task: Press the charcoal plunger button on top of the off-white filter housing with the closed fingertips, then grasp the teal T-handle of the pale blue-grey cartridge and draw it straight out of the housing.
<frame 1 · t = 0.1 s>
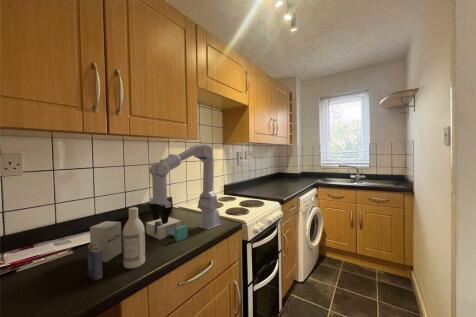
hand: (160, 221, 88), 10 cm above the worktop, tool pointing down, fingers open, 7 cm apart
supplement box: (106, 257, 78), on the worktop
bath foam: (134, 264, 72), on the worktop
housing: (164, 232, 102), on the worktop
cartridge: (170, 228, 98), point 3 cm above the worktop, slide at 0.0 cm
plunger: (158, 226, 97), point 5 cm above the worktop, slide at 0.0 cm
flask: (94, 275, 66), on the worktop
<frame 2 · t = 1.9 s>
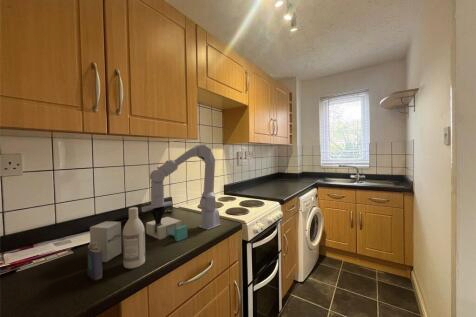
hand: (158, 223, 97), 6 cm above the worktop, tool pointing down, fingers closed, pressing on plunger
plunger: (158, 227, 97), point 4 cm above the worktop, slide at 0.6 cm, touching gripper
everything else where it was.
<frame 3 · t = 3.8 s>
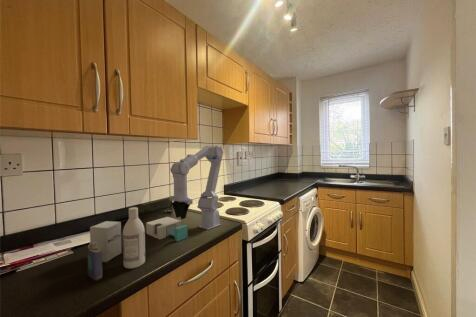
hand: (180, 217, 93), 10 cm above the worktop, tool pointing down, fingers open, 3 cm apart
plunger: (158, 228, 97), point 4 cm above the worktop, slide at 1.1 cm
everything else where it was.
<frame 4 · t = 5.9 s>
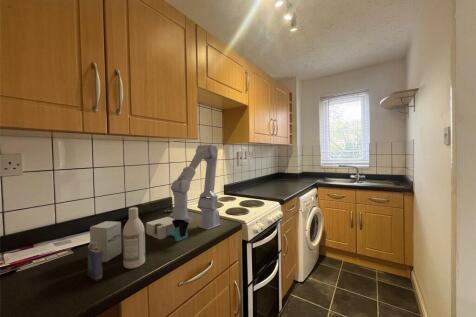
hand: (181, 235, 93), 2 cm above the worktop, tool pointing down, fingers closed on cartridge, 2 cm apart
cartridge: (170, 228, 98), point 3 cm above the worktop, slide at 0.0 cm, touching gripper
everything else where it was.
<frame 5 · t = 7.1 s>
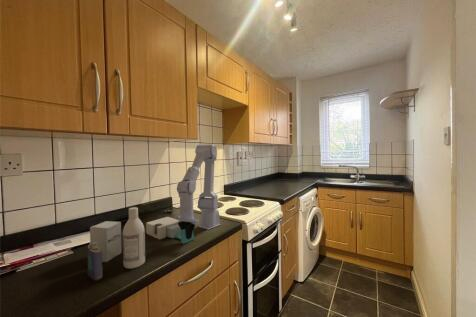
hand: (187, 237, 90), 2 cm above the worktop, tool pointing down, fingers closed on cartridge, 2 cm apart
cartridge: (175, 230, 96), point 3 cm above the worktop, slide at 4.4 cm, touching gripper
everything else where it was.
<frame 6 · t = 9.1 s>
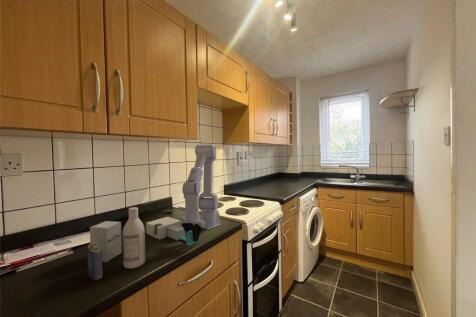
hand: (192, 239, 88), 2 cm above the worktop, tool pointing down, fingers open, 4 cm apart
cartridge: (180, 232, 93), point 3 cm above the worktop, slide at 8.0 cm
everything else where it was.
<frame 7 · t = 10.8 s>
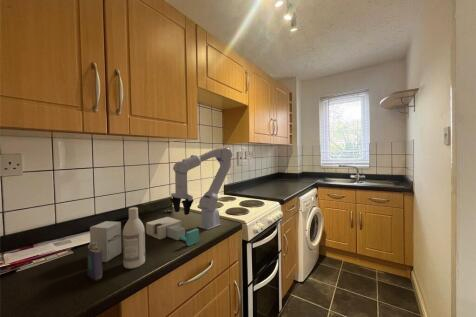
hand: (181, 213, 100), 10 cm above the worktop, tool pointing down, fingers open, 7 cm apart
nothing on the worktop moved.
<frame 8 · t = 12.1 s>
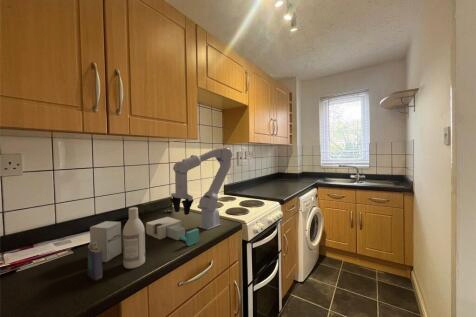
hand: (181, 213, 100), 10 cm above the worktop, tool pointing down, fingers open, 7 cm apart
nothing on the worktop moved.
at the end: cartridge slide at 8.0 cm; plunger slide at 1.1 cm; the gripper is holding nothing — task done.
